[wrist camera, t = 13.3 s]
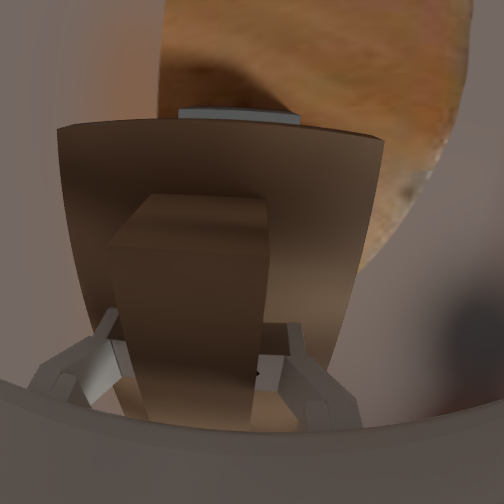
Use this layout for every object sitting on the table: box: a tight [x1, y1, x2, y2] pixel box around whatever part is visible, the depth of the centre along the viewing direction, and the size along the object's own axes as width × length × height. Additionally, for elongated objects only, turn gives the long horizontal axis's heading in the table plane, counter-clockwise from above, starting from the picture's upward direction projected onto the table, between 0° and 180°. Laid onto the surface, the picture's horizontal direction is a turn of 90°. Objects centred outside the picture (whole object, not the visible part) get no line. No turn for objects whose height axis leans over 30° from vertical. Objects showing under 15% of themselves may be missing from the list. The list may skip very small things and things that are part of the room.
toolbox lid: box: [57, 118, 384, 432], centre depth 12 cm, size 17×11×6 cm, turn 176°
